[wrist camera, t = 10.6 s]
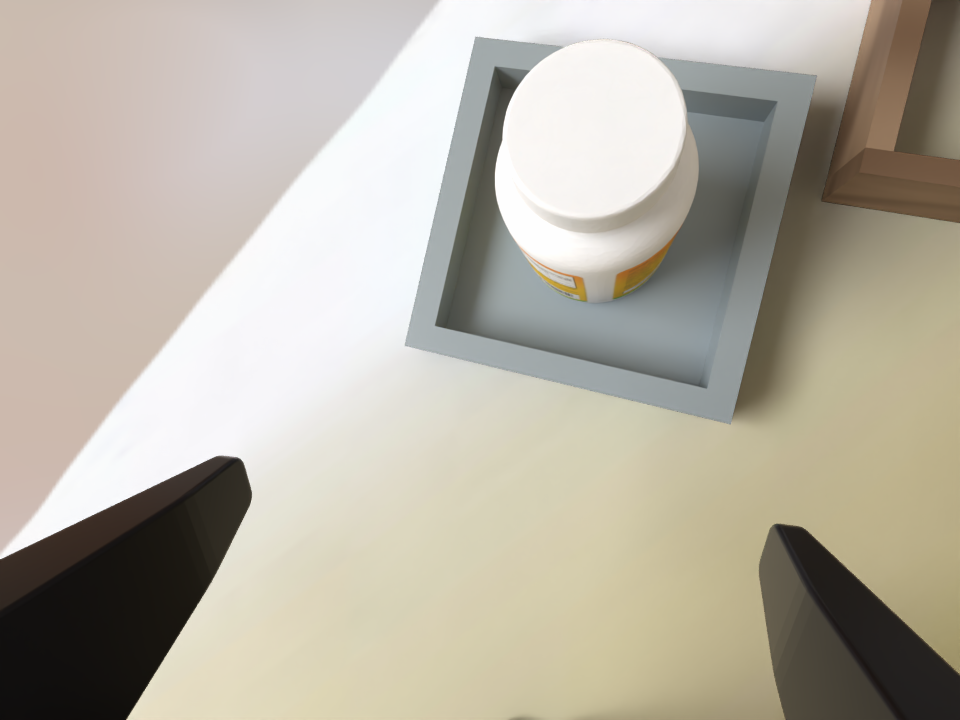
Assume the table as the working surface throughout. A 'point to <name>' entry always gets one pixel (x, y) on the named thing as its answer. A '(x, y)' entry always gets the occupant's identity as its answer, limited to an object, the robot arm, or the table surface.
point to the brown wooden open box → (888, 125)
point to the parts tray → (669, 291)
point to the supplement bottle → (596, 168)
